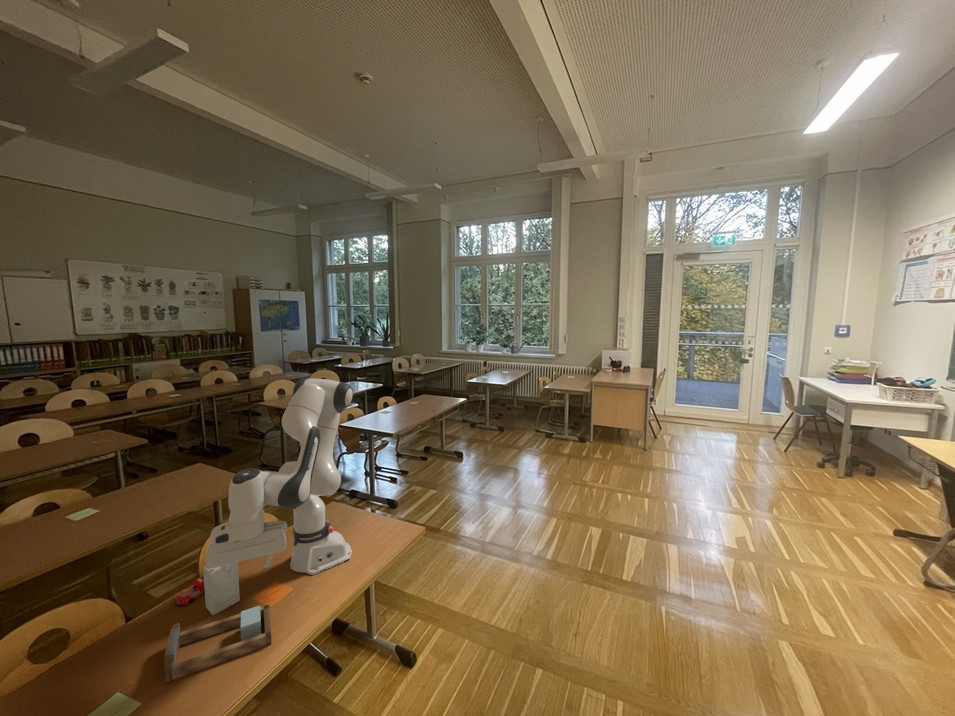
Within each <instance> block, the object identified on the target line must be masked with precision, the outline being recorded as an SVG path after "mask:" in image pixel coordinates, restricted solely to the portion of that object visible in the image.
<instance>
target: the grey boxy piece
mask: <svg viewBox="0 0 955 716" xmlns="http://www.w3.org/2000/svg"><path fill="white" fill-rule="evenodd" d="M260 607H261V605H257V606H254V607H251V608H248V609H245V610H241V611H240V613H241V626H240V641H243V640H246V639H249V638H252V637H255V636H258V635H261V634H262V623H261V622H262V621H261V620H262V619H261V616H260Z"/></svg>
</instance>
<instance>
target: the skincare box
mask: <svg viewBox="0 0 955 716" xmlns="http://www.w3.org/2000/svg"><path fill="white" fill-rule="evenodd" d="M227 568H228V569H232V577H231V578H227V579H226V574H225V573H224V572H223V571H222V570H221V566H219V567H215V568H211V569H208V568H207V567H205V565H203V566H202V570H203V571H202V572H203V575H202V576H204V589H205V593H204V601H205V608H206V610H207V611H208V612H209V613H210V614H211V615H212V616H215V615H217V614H218V613H220V612H222V611H224V610H226V609H228V608H229V607H231V606H233V605H234V604H237V603H238V602H240V601H241V597H240V583H239V582H240V581H239V579H240V578H239V562H236V563H232V564H227Z"/></svg>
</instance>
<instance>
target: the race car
mask: <svg viewBox="0 0 955 716" xmlns="http://www.w3.org/2000/svg"><path fill="white" fill-rule="evenodd" d="M193 585H194V586H193ZM191 586H193V587H191ZM185 587H186V588H185V589H184V590H186V589H188V588H189V587H191V588H189V589H188V590H187V591H185V592H183V591H182V592H183V593H182V592H180V593H181V594H180V593H179V594H180V595H179V594H178V595H179V596H178V595H177V596H178V597H177V596H176V599H175V604H176V605H177V606H185V605H190V604H192V603H193V602H194V601H195V600H196V599H198V598H199V597H201V596H202V595H204V594H205V589H204V575H202V576H200V577H199V578H197V579H196V580H194V581H193V582H191V583H190V584H189V585H188V586H187V585H186V586H185Z"/></svg>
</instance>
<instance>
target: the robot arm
mask: <svg viewBox="0 0 955 716" xmlns="http://www.w3.org/2000/svg"><path fill="white" fill-rule="evenodd" d="M353 393H354V392H353V388H352V385H350V384H349V383H347V382H343V381H337V380H332V379H326V378H312V377H301V378H300V379H298V380H297V381H296V382H295V384H294V386H293V388H292V398H291V399H290V401H289V402H288V405H287V406H286V409H285V411H284V413H283V415H282V418H281V426H282V429H283V431H284V432H285V433H286V434H287V435H288V436H289V437H291V438H292V439H294V440H295V441H297V442H299V444H300V451H299V453H298V454H299V455H298V458H297V460H295V461H287V462H284V464H283V465H282V466H281V467H280V468H279V469H278V471H272V470H271V471H270V470H264V471H263V470H260V469H258V468H247V469H243V470H241V471H238V472H237V473H235V474H234V475H233V476H232V478H231V480H230V484H229V488H228V508H229V512H230V515H229V518H228V520H227V521H226V522H224V523H222V524H219V525H217V526H215V527H214V528H212V530H211V532H210V537H209V541H208V544H207V548H206V553H205V561H204V566H205V567H207V568H208V569H211V568H215V567H219V566H221V570H222V571H223V572H224V573H225V574H226V579H227V578H231V577H232V569H228V568H227V564H232V563H236V562H238V563H239V562H243V561H246V560H247V561H248V560H251V559H256V558H260V557H264V556H265V557H266V556H267V559H265V560H263V570H264V569H265V570H266V569H269V568H270V562H271V561H272V559H273V558H274V554H275V553H281V552H284V551H285V550H286V548H287V538H286V533H287V531H288V523H287V521H285V520H282V519H277V520H274V521H268V522H265V519H266V518H265V514H266V513H265V510H264V507H265V506H267V505H268V506H275V507H280V508H283V509H288V510H292V513H293V529H292V544H293V550H292V555H291V556H292V557H291V560H290V564H289V567H290V569H291V570H293V571H294V572H296V573H304V574H305V573H306V574H308V575H312V576H314V575H316V574H319V573H321V571H322V572H324V571H326V570H328V568H329V569H331V568H333V566H334V567H336V566H338V565H337V564H339V565H341V564H343V563H345V562H344V561H346V560H348V559H350V557H351V555H352V556H353V551H352V547H351V545H350V544H349V543H348V542H347V541H346V540H345V538H344V536H343V535H342V534H341V533H340V532H338V531H335V530H334V527H333V526H332V524H331V523H330V521H329V520H326V504H325V503H324V501H323V499H321V498H320V496H322V497H324V496H332V495H334V494H335V493H336V492H337V491H338V490H339V488H340V485H341V483H342V477H341V476H342V475H341V473H340V471H339V469H338V468H337V466H336V464H335V458H334V446H335V441H336V437H337V433H338V429H339V426H340V420H341V419H340V418H341V413H342V412H343V411H344V410H346V409H347V408H348V407H349V406H350V405H351V403H352V400H353ZM349 553H350V554H349ZM348 554H349V555H348ZM351 558H352V557H351ZM350 560H351V559H350ZM348 561H349V560H348ZM342 562H343V563H342ZM346 562H347V561H346ZM340 563H341V564H340ZM335 565H336V566H335ZM325 569H326V570H325ZM323 570H324V571H323Z"/></svg>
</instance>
